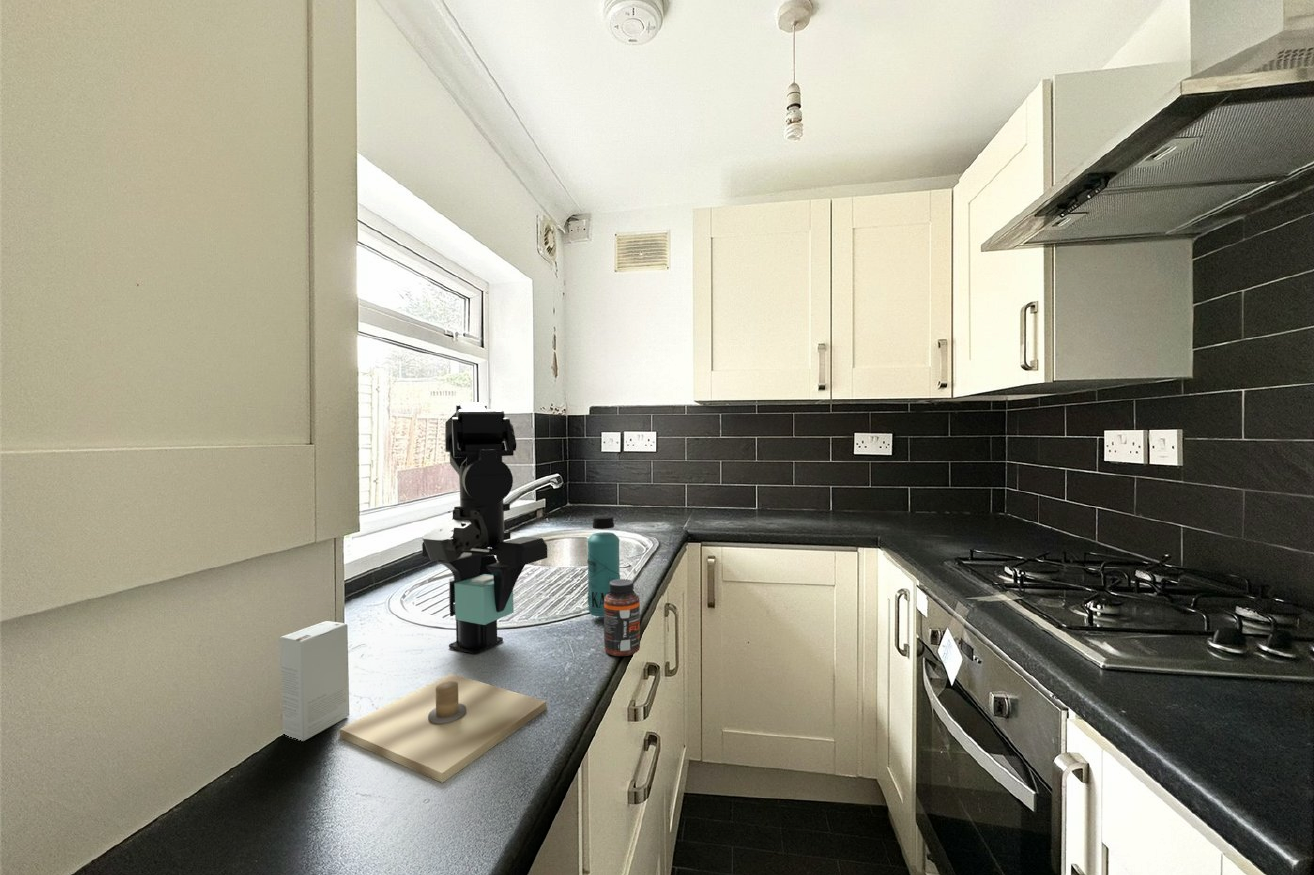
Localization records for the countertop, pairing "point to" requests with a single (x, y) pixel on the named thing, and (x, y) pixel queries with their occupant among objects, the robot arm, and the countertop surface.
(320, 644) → the skincare box
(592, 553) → the beverage bottle
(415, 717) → the post board
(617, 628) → the supplement bottle
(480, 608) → the teal cube with pad
